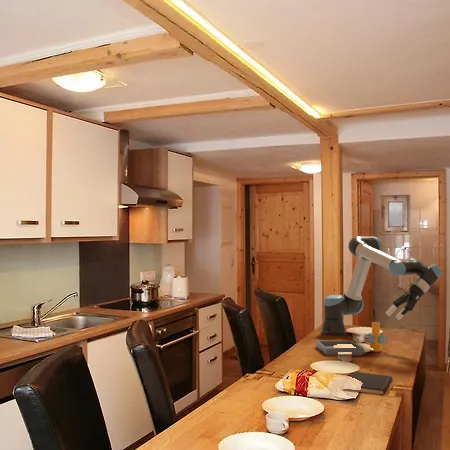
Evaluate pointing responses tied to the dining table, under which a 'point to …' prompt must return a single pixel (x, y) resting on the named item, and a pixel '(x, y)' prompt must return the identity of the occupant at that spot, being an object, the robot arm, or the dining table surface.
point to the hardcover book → (373, 382)
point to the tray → (328, 348)
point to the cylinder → (375, 337)
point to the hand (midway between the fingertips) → (392, 316)
